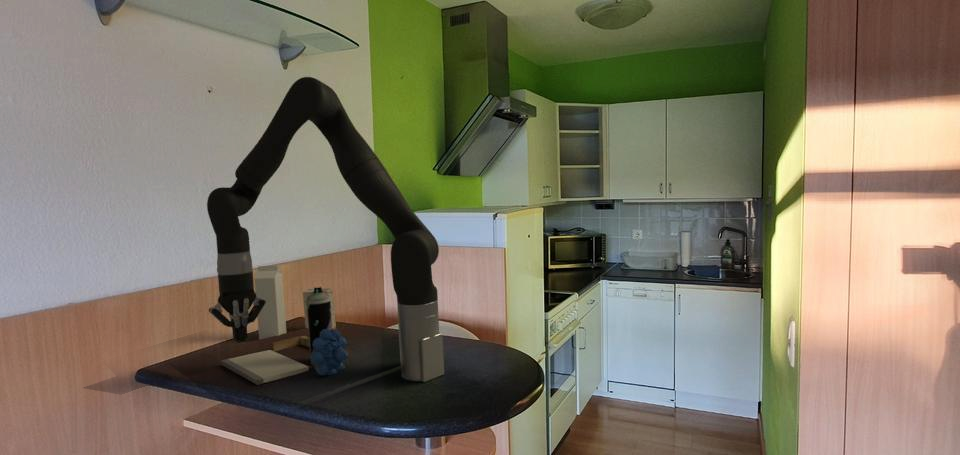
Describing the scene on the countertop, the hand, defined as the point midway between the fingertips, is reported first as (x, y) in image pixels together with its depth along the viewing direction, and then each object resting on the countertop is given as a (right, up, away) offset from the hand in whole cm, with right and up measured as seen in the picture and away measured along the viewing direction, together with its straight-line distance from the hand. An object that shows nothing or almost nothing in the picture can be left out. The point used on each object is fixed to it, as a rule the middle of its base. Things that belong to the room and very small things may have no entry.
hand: (240, 341), depth 120 cm
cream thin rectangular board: (+10, -6, +3) cm, 12 cm away
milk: (-5, -6, +30) cm, 31 cm away
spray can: (+19, -7, +2) cm, 21 cm away
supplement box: (+8, -5, +36) cm, 37 cm away
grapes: (+25, -7, -6) cm, 26 cm away
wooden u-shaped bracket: (+14, -7, +7) cm, 17 cm away
